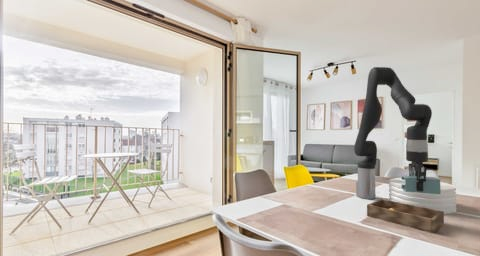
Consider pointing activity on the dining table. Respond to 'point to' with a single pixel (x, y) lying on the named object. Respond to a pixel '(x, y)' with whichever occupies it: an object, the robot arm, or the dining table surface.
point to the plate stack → (424, 196)
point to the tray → (406, 215)
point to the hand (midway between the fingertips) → (417, 189)
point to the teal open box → (428, 187)
